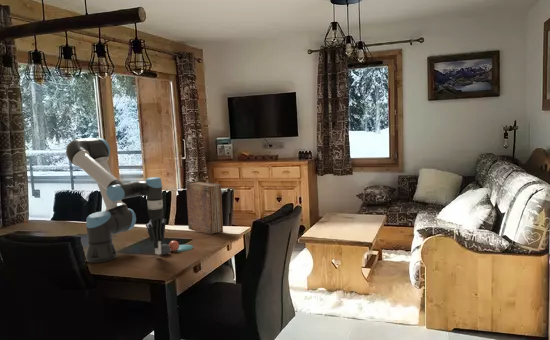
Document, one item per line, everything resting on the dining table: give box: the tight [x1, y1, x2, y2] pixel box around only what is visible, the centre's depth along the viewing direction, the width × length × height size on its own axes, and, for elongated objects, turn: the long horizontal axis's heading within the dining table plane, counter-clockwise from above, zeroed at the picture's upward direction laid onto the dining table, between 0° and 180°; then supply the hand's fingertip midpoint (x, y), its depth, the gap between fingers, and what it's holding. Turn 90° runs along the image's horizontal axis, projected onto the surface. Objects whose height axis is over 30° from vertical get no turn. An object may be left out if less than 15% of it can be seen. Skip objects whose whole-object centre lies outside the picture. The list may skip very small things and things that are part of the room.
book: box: [185, 181, 224, 236], centre depth 282 cm, size 25×9×30 cm, turn 43°
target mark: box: [170, 244, 194, 253], centre depth 244 cm, size 13×13×1 cm
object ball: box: [168, 240, 180, 252], centre depth 239 cm, size 6×6×6 cm
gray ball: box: [160, 243, 171, 256], centre depth 233 cm, size 6×6×6 cm
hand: (158, 253), depth 228 cm, fingers closed
